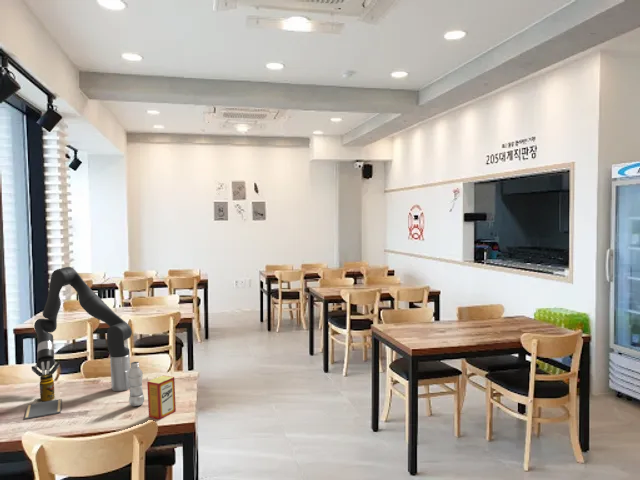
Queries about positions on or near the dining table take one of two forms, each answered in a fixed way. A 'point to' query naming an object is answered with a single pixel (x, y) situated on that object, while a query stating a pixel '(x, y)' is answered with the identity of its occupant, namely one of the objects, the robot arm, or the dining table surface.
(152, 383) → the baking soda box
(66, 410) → the dining table surface
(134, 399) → the plastic bottle
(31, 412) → the mat
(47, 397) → the condiment
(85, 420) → the dining table surface
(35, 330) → the robot arm
